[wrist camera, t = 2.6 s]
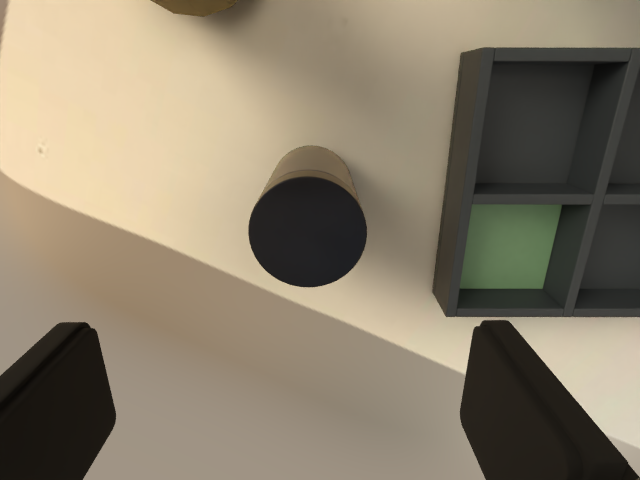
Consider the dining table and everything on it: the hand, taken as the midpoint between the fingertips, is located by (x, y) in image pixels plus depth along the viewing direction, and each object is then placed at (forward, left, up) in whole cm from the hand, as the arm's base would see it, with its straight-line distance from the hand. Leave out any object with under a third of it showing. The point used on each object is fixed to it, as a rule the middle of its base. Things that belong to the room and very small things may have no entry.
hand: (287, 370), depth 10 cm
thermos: (0, 0, -19) cm, 19 cm away
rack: (-18, 0, -19) cm, 27 cm away
